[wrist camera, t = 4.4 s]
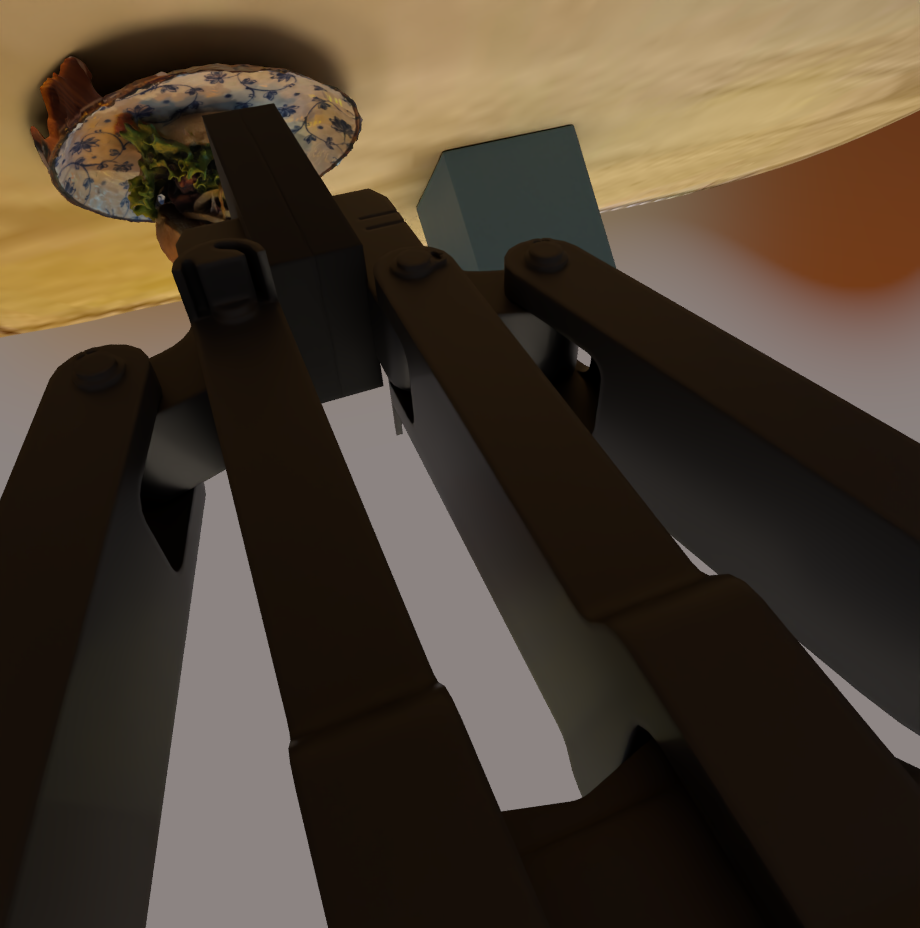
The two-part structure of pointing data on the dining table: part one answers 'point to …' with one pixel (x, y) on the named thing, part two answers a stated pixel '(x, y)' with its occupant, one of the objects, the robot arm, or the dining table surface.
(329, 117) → the burger
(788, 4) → the dining table surface
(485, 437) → the robot arm
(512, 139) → the slate block
